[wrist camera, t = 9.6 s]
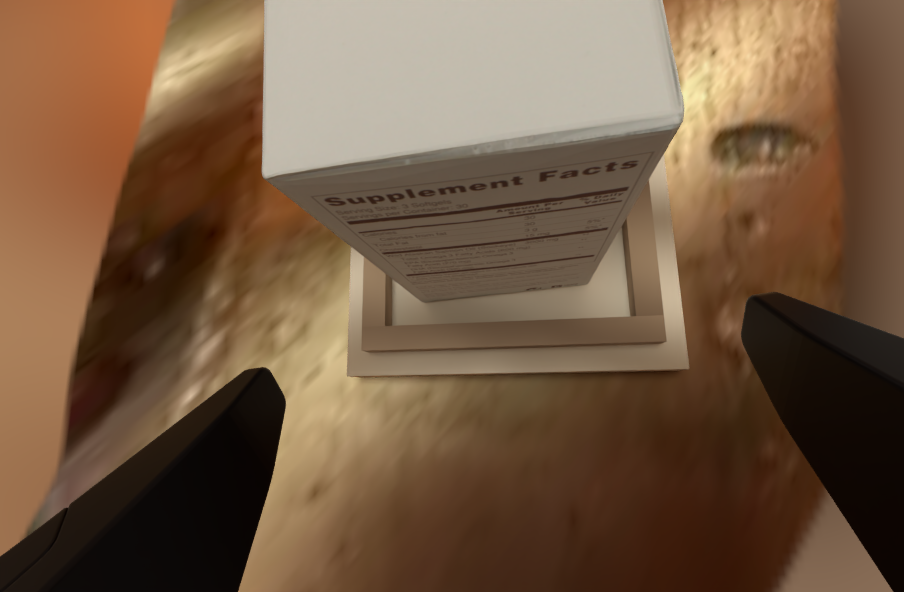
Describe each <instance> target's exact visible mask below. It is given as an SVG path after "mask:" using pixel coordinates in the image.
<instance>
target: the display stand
mask: <svg viewBox="0 0 904 592" xmlns="http://www.w3.org/2000/svg"><path fill="white" fill-rule="evenodd" d="M686 369H689V362H688V353H687V345H686V336H685V328H684V319H683V311H682V303H681V294H680V286H679V277H678V269H677V261H676V252H675V244H674V235H673V227H672V219H671V210H670V202H669V193H668V185H667V177H666V168H665V160H664V154H663V156H662V158H661V159H660V161H659V163H658V165H657V166H656V168H655V170H654V171H653V173H652V175H651V176H650V178H649V180H648V182H647V183H646V185H645V187H644V188H643V190H642V192H641V194H640V195H639V197H638V199H637V200H636V202H635V204H634V206H633V207H632V209H631V211H630V212H629V214H628V216H627V218H626V219H625V221H624V223H623V225H622V226H621V228H620V230H619V231H618V233H617V235H616V237H615V238H614V240H613V242H612V243H611V245H610V247H609V249H608V251H607V252H606V254H605V255H604V257H603V259H602V260H601V262H600V264H599V266H598V267H597V270H596V271H595V273H594V274H593V276H592V278H591V280H590V282H589V283H588V284H585V285H578V286H568V287H559V288H550V289H541V290H532V291H522V292H513V293H503V294H494V295H485V296H476V297H467V298H458V299H449V300H440V301H432V302H426V303H425V302H422V301H420V300H419V299H417V298H416V297H415V296H413V295H412V294H411V293H409V292H408V291H407V290H406V289H405V288H403V287H402V286H401V285H400V284H398V283H397V282H395V281H394V280H393V279H392V278H391V277H390V276H388V275H387V274H385V273H384V272H383V271H382V270H380V269H379V268H378V267H376V266H375V265H374V264H373V263H371V262H370V261H369V260H368V259H366V258H365V257H364V256H362V255H361V254H360V253H358V252H357V251H356V250H355V249H353V248H352V247H351V264H350V296H349V328H348V360H347V376H350V377H392V376H440V375H489V374H537V373H585V372H633V371H678V370H686Z"/></svg>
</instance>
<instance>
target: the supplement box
mask: <svg viewBox="0 0 904 592" xmlns="http://www.w3.org/2000/svg"><path fill="white" fill-rule="evenodd" d="M683 117H684V103H683V96H682V92H681V89H680V83H679V77H678V72H677V66H676V62H675V58H674V54H673V49H672V45H671V41H670V36H669V31H668V26H667V21H666V16H665V11H664V6H663V1H662V0H265V3H264V88H263V154H262V175H263V178H264V179H265V180H267V181H268V182H269V183H271V184H272V185H273V186H275V187H276V188H277V189H279V190H280V191H281V192H282V193H284V194H285V195H286V196H288V197H289V198H290V199H291V200H293V201H294V202H295V203H296V204H298V205H299V206H300V207H301V208H303V209H304V210H305V211H306V212H308V213H309V214H310V215H311V216H313V217H314V218H315V219H317V220H318V221H319V222H321V223H322V224H323V225H324V226H326V227H327V228H328V229H330V230H331V231H332V232H333V233H334V234H336V235H337V236H338V237H339V238H341V239H342V240H343V241H344V242H346V243H347V244H348V245H350V246H351V247H352V248H353V249H355V250H356V251H357V252H358V253H360V254H361V255H362V256H364V257H365V258H366V259H368V260H369V261H370V262H371V263H373V264H374V265H375V266H376V267H378V268H379V269H380V270H382V271H383V272H384V273H385V274H387V275H388V276H390V277H391V278H392V279H393V280H394V281H395V282H397V283H398V284H400V285H401V286H402V287H403V288H405V289H406V290H407V291H408V292H409V293H411V294H412V295H413V296H415V297H416V298H417V299H419V300H420V301H422V302H425V303H426V302H432V301H440V300H449V299H458V298H467V297H476V296H485V295H494V294H503V293H513V292H522V291H532V290H541V289H550V288H559V287H568V286H578V285H585V284H588V283H589V282H590V280H591V278H592V276H593V274H594V273H595V271H596V270H597V267H598V266H599V264H600V262H601V260H602V259H603V257H604V255H605V254H606V252H607V251H608V249H609V247H610V245H611V243H612V242H613V240H614V238H615V237H616V235H617V233H618V231H619V230H620V228H621V226H622V225H623V223H624V221H625V219H626V218H627V216H628V214H629V212H630V211H631V209H632V207H633V206H634V204H635V202H636V200H637V199H638V197H639V195H640V194H641V192H642V190H643V188H644V187H645V185H646V183H647V182H648V180H649V178H650V176H651V175H652V173H653V171H654V170H655V168H656V166H657V165H658V163H659V161H660V159H661V158H662V156H663V154H664V153H665V151H666V149H667V147H668V145H669V144H670V142H671V140H672V139H673V137H674V135H675V134H676V132H677V130H678V129H679V127H680V125H681V123H682V122H683Z"/></svg>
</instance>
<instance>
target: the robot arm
mask: <svg viewBox="0 0 904 592" xmlns="http://www.w3.org/2000/svg"><path fill="white" fill-rule="evenodd" d="M741 338H742V342H743V345H744V348H745V350H746V352H747V354H748V356H749V358H750V360H751V362H752V364H753V366H754V368H755V370H756V372H757V374H758V376H759V378H760V380H761V382H762V384H763V386H764V388H765V390H766V392H767V394H768V396H769V398H770V400H771V402H772V404H773V406H774V408H775V409H776V411H777V413H778V415H779V417H780V419H781V420H782V422H783V424H784V425H785V427H786V429H787V430H788V432H789V433H790V435H791V436H792V438H793V439H794V441H795V443H796V444H797V446H798V447H799V449H800V450H801V452H802V453H803V455H804V456H805V458H806V459H807V461H808V462H809V464H810V465H811V467H812V468H813V470H814V471H815V473H816V475H817V476H818V478H819V479H820V481H821V482H822V484H823V485H824V487H825V488H826V490H827V491H828V493H829V494H830V496H831V497H832V499H833V500H834V502H835V503H836V505H837V507H838V508H839V510H840V511H841V513H842V514H843V516H844V517H845V518H846V520H847V522H848V523H849V524H850V526H851V528H852V529H853V530H854V532H855V534H856V535H857V537H858V538H859V540H860V541H861V543H862V544H863V546H864V548H865V549H866V550H867V552H868V554H869V555H870V557H871V558H872V560H873V561H874V563H875V564H876V566H877V567H878V569H879V570H880V572H881V574H882V575H883V577H884V578H885V580H886V581H887V583H888V584H889V585H890V587H891V589H892V590H893V592H904V338H901V337H898V336H896V335H893V334H890V333H887V332H885V331H882V330H879V329H876V328H874V327H871V326H868V325H865V324H863V323H860V322H857V321H855V320H852V319H849V318H847V317H844V316H841V315H838V314H836V313H833V312H830V311H827V310H825V309H822V308H819V307H816V306H814V305H811V304H808V303H806V302H803V301H800V300H797V299H795V298H792V297H789V296H786V295H784V294H781V293H778V292H769V293H762V294H756V295H752V296H750V297H749V298H748V300H747V302H746V306H745V312H744V319H743V325H742V331H741ZM285 408H286V401H285V397H284V394H283V393H282V391H281V389H280V387H279V385H278V384H277V382H276V380H275V378H274V377H273V375H272V373H271V372H270V370H269V369H267V368H264V367H261V368H254V369H248V370H245V371H244V372H242V373H241V374H239V375H238V376H237V377H236V378H234V379H233V380H232V381H230V382H229V383H228V384H226V385H225V386H224V387H223V388H221V389H220V390H219V391H217V392H216V393H215V394H213V395H212V396H211V397H209V398H208V399H207V400H206V401H204V402H203V403H202V404H200V405H199V406H198V407H196V408H195V409H194V410H192V411H191V412H190V413H189V414H187V415H186V416H185V417H183V418H182V419H181V420H179V421H178V422H177V423H175V424H174V425H173V426H172V427H170V428H169V429H168V430H166V431H165V432H164V433H162V434H161V435H160V436H158V437H157V438H156V439H155V440H153V441H152V442H151V443H149V444H148V445H147V446H145V447H144V448H143V449H141V450H140V451H139V452H138V453H136V454H135V455H134V456H132V457H131V458H130V459H128V460H127V461H126V462H124V463H123V464H122V465H121V466H119V467H118V468H117V469H115V470H114V471H113V472H111V473H110V474H109V475H107V476H106V477H105V478H104V479H102V480H101V481H100V482H98V483H97V484H96V485H94V486H93V487H92V488H90V489H89V490H88V491H87V492H85V493H84V494H83V495H81V496H80V497H79V498H77V499H76V500H75V501H73V502H72V503H71V504H70V505H69V508H64V509H63V510H61V511H60V512H59V513H58V514H56V515H55V516H54V517H52V518H51V519H50V520H48V521H47V522H46V523H45V524H43V525H42V526H41V527H39V528H38V529H37V530H35V531H34V532H33V533H31V534H30V535H29V536H27V537H26V538H25V539H23V540H22V541H21V542H19V543H18V544H16V545H15V546H14V547H12V548H11V549H10V550H9V551H7V552H6V553H5V554H3V555H2V556H0V592H238V590H239V587H240V583H241V580H242V577H243V573H244V570H245V567H246V563H247V560H248V557H249V553H250V550H251V547H252V543H253V540H254V537H255V533H256V530H257V527H258V523H259V520H260V517H261V514H262V510H263V507H264V504H265V500H266V497H267V494H268V490H269V487H270V483H271V479H272V475H273V471H274V466H275V461H276V456H277V451H278V445H279V440H280V435H281V430H282V424H283V419H284V414H285Z"/></svg>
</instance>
